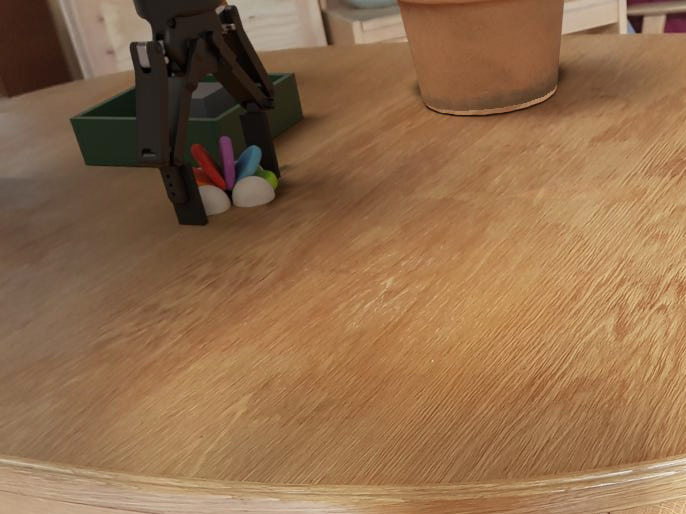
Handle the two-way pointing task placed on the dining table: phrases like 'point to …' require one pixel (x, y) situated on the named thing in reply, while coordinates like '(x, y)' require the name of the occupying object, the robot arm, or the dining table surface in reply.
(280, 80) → the crate
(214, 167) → the rainbow petal fan toy
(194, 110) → the grey block
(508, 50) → the pottery
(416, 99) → the dining table surface
